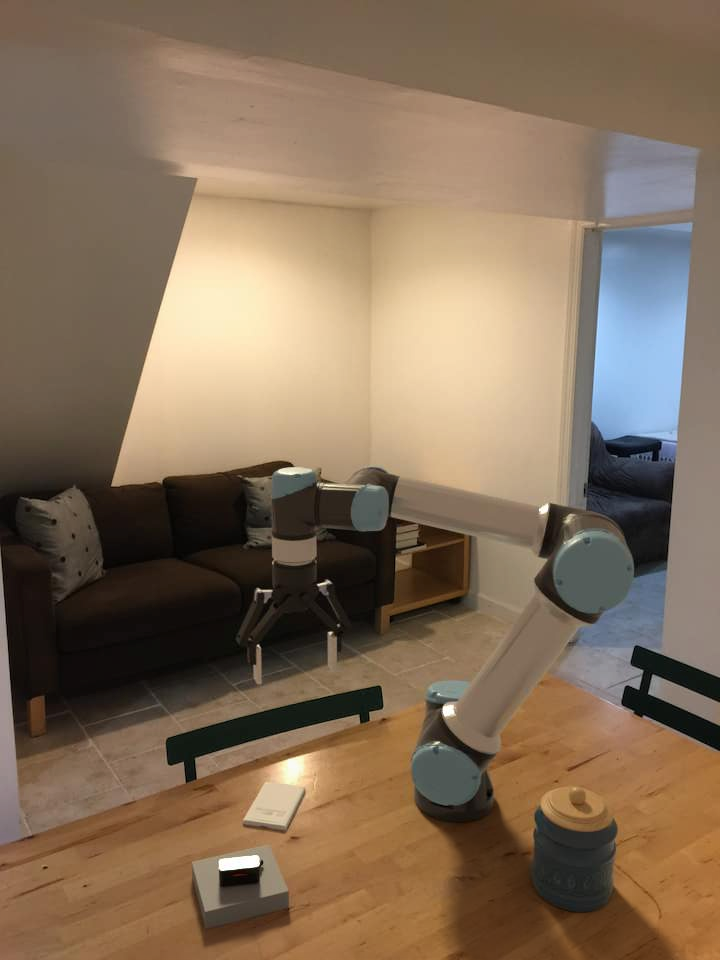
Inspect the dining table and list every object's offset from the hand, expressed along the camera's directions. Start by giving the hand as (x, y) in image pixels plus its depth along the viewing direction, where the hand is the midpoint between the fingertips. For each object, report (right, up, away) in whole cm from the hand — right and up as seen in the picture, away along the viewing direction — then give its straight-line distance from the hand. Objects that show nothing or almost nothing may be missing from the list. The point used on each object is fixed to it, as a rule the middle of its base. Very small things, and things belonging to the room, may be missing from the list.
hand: (295, 675), depth 144 cm
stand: (-8, -32, -12) cm, 35 cm away
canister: (+46, -32, -10) cm, 57 cm away
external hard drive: (-5, -28, +10) cm, 30 cm away
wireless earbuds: (-7, -29, -13) cm, 33 cm away
